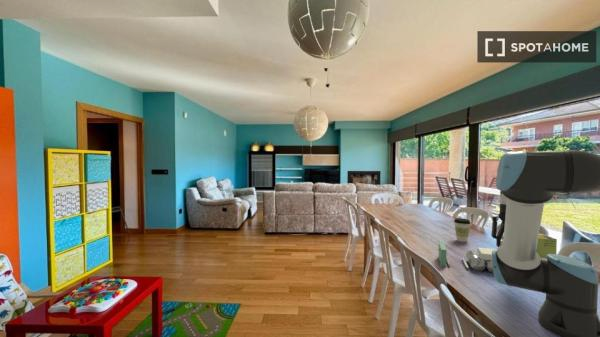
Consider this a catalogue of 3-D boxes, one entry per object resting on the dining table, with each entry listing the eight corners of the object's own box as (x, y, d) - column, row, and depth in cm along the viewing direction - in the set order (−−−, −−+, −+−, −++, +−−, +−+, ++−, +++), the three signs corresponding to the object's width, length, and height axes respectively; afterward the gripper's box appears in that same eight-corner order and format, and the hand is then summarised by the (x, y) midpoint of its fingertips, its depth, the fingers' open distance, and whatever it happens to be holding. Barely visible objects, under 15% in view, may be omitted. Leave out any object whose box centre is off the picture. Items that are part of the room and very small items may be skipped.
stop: (446, 266, 133) (446, 250, 133) (441, 266, 134) (441, 249, 134) (443, 257, 146) (443, 242, 146) (438, 257, 147) (438, 241, 147)
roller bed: (523, 278, 120) (523, 265, 120) (470, 270, 129) (471, 258, 128) (512, 267, 133) (512, 255, 133) (465, 260, 141) (465, 250, 141)
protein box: (556, 268, 130) (557, 239, 130) (522, 266, 134) (523, 237, 133) (541, 261, 141) (542, 233, 140) (510, 258, 144) (510, 232, 143)
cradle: (468, 270, 129) (468, 267, 129) (448, 267, 133) (448, 264, 133) (463, 260, 142) (463, 257, 142) (445, 257, 145) (445, 255, 145)
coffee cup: (450, 239, 180) (450, 218, 180) (460, 238, 183) (461, 217, 183) (463, 243, 171) (463, 221, 170) (473, 242, 174) (474, 220, 173)
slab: (521, 264, 122) (521, 258, 122) (481, 259, 128) (482, 253, 128) (514, 257, 131) (514, 251, 131) (477, 252, 137) (477, 247, 137)
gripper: (533, 204, 112) (532, 255, 112) (483, 201, 120) (482, 249, 120) (541, 206, 105) (540, 261, 106) (487, 203, 113) (486, 254, 113)
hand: (509, 255), depth 113 cm, fingers closed on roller, 6 cm apart
